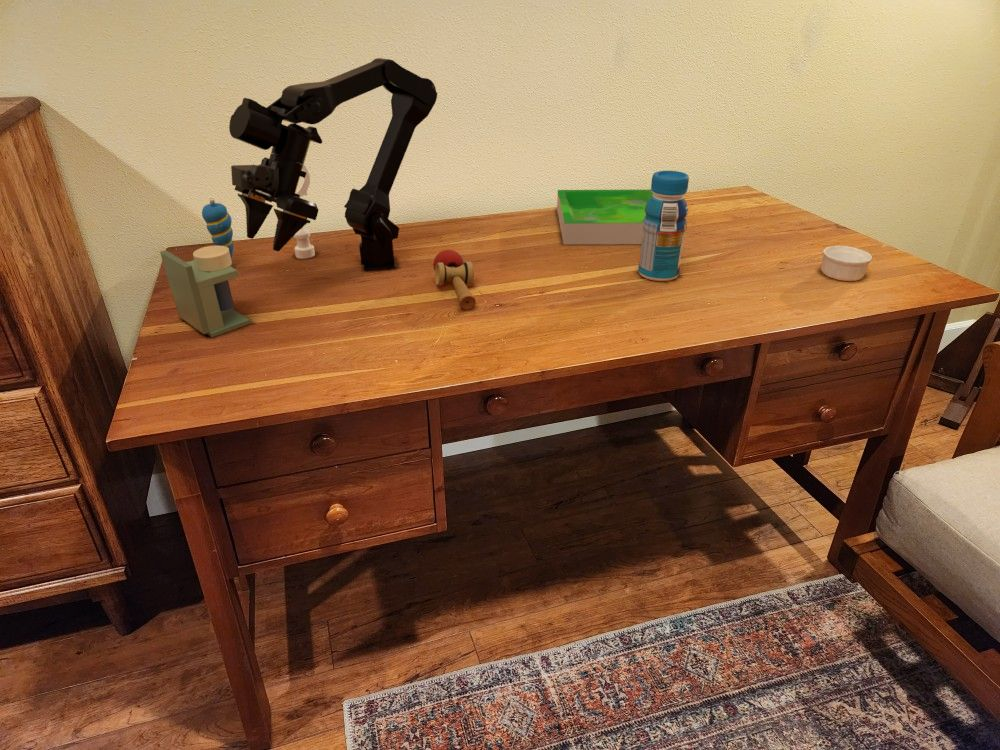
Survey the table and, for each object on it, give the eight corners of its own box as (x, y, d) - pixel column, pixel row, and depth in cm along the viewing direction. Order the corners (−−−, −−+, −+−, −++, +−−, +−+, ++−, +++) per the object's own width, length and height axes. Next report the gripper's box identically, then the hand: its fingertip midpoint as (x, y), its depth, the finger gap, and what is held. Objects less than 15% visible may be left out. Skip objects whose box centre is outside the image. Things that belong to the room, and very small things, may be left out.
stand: (221, 305, 125) (205, 238, 118) (251, 323, 118) (235, 254, 112) (178, 319, 120) (158, 250, 113) (206, 339, 113) (187, 268, 107)
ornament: (233, 273, 138) (216, 201, 130) (210, 272, 139) (192, 200, 131) (246, 264, 142) (230, 194, 134) (224, 262, 143) (207, 192, 135)
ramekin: (875, 276, 134) (882, 256, 131) (847, 286, 130) (853, 265, 128) (836, 262, 140) (841, 242, 138) (808, 271, 136) (813, 250, 134)
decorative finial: (294, 259, 144) (273, 139, 131) (293, 253, 147) (272, 134, 134) (322, 256, 145) (304, 136, 132) (320, 249, 149) (302, 132, 136)
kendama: (492, 312, 124) (466, 264, 138) (486, 284, 120) (461, 237, 133) (452, 324, 123) (430, 275, 137) (445, 296, 119) (423, 248, 132)
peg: (243, 298, 123) (231, 244, 117) (239, 312, 118) (226, 256, 112) (210, 301, 122) (196, 246, 116) (204, 315, 117) (189, 259, 111)
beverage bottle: (629, 274, 135) (639, 175, 125) (651, 263, 141) (663, 166, 130) (665, 286, 131) (679, 183, 120) (687, 273, 136) (702, 174, 125)
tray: (675, 244, 150) (678, 222, 147) (563, 244, 150) (564, 222, 148) (654, 208, 171) (657, 189, 169) (556, 209, 172) (557, 189, 169)
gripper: (219, 134, 117) (196, 220, 120) (274, 152, 106) (247, 246, 109) (275, 156, 126) (252, 236, 128) (331, 174, 115) (305, 261, 117)
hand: (262, 244), depth 120 cm, fingers open, 9 cm apart
